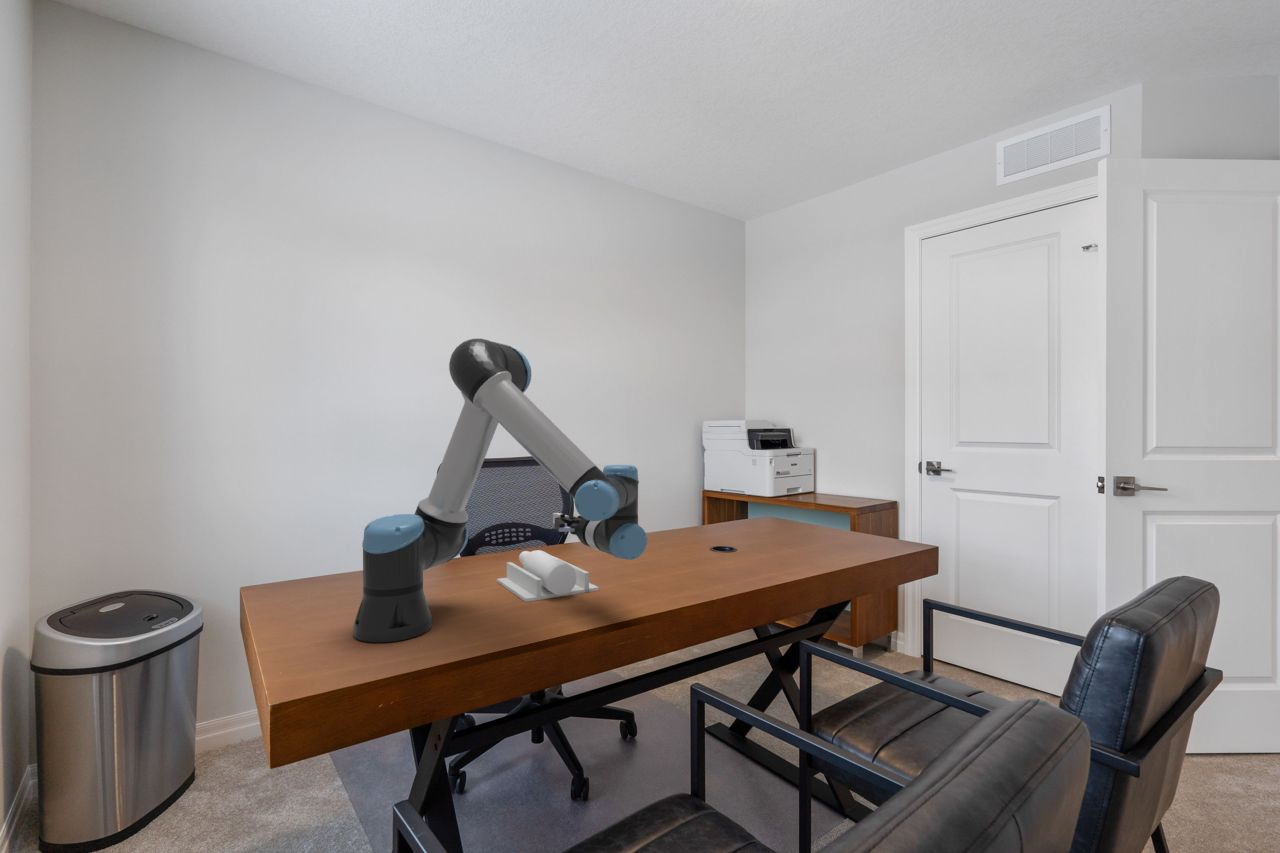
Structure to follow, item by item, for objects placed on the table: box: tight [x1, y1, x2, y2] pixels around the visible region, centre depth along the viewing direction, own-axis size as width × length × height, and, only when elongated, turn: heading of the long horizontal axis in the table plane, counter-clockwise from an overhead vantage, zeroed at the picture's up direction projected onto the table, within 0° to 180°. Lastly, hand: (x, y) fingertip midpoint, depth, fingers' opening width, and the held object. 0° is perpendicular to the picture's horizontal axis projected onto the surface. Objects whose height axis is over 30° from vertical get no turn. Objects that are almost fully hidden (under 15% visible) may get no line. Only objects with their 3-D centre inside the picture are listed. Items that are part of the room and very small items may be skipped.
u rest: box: [496, 556, 600, 603], centre depth 159 cm, size 22×20×5 cm
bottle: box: [518, 549, 577, 595], centre depth 161 cm, size 8×8×30 cm
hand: (555, 518), depth 154 cm, fingers closed
